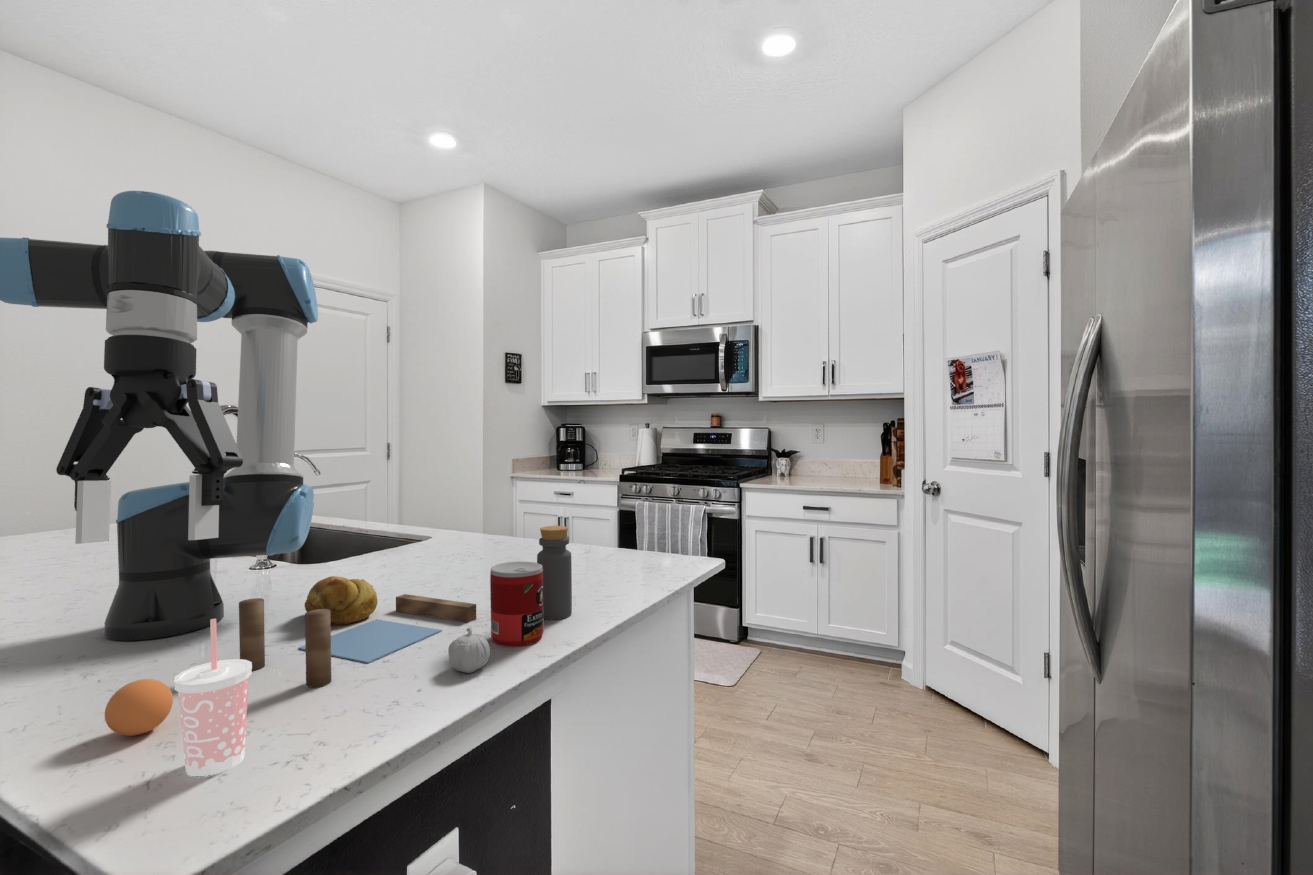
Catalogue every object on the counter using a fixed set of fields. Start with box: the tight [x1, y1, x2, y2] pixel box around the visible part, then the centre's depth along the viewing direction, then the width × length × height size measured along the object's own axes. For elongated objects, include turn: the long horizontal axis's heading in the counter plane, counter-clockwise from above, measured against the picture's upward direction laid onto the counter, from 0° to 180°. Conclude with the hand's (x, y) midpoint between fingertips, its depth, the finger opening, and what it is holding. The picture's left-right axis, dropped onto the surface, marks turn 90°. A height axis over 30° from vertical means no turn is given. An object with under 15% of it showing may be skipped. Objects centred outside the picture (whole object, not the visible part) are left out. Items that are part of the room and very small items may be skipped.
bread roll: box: [304, 575, 378, 626], centre depth 102 cm, size 13×10×8 cm
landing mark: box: [298, 618, 443, 664], centre depth 92 cm, size 14×14×1 cm
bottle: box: [536, 525, 573, 621], centre depth 103 cm, size 6×6×15 cm
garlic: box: [447, 627, 491, 674], centre depth 80 cm, size 6×5×5 cm
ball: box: [104, 678, 174, 737], centre depth 64 cm, size 6×6×6 cm
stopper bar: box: [395, 593, 477, 623], centre depth 103 cm, size 16×2×2 cm, turn 67°
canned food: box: [489, 561, 544, 648], centre depth 92 cm, size 8×8×11 cm
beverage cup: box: [173, 619, 253, 777], centre depth 58 cm, size 6×6×14 cm
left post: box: [238, 597, 266, 672], centre depth 81 cm, size 3×3×9 cm
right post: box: [304, 609, 332, 689], centre depth 76 cm, size 3×3×9 cm
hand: (147, 541), depth 63 cm, fingers open, 13 cm apart
